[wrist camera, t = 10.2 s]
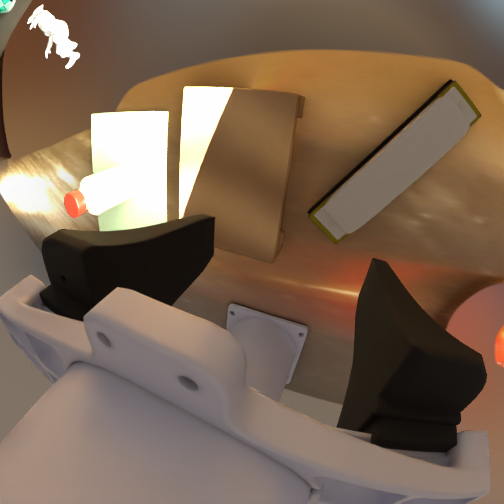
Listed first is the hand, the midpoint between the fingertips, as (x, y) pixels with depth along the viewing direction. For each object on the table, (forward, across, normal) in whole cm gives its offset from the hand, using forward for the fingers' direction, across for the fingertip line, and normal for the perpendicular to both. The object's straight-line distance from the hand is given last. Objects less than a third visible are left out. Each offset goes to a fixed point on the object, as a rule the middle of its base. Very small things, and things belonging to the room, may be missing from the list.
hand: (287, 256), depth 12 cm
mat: (+9, +18, +2) cm, 20 cm away
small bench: (+9, +6, -1) cm, 11 cm away
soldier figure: (+10, +30, -16) cm, 35 cm away
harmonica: (+10, -5, -4) cm, 12 cm away
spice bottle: (+9, +18, +2) cm, 20 cm away
